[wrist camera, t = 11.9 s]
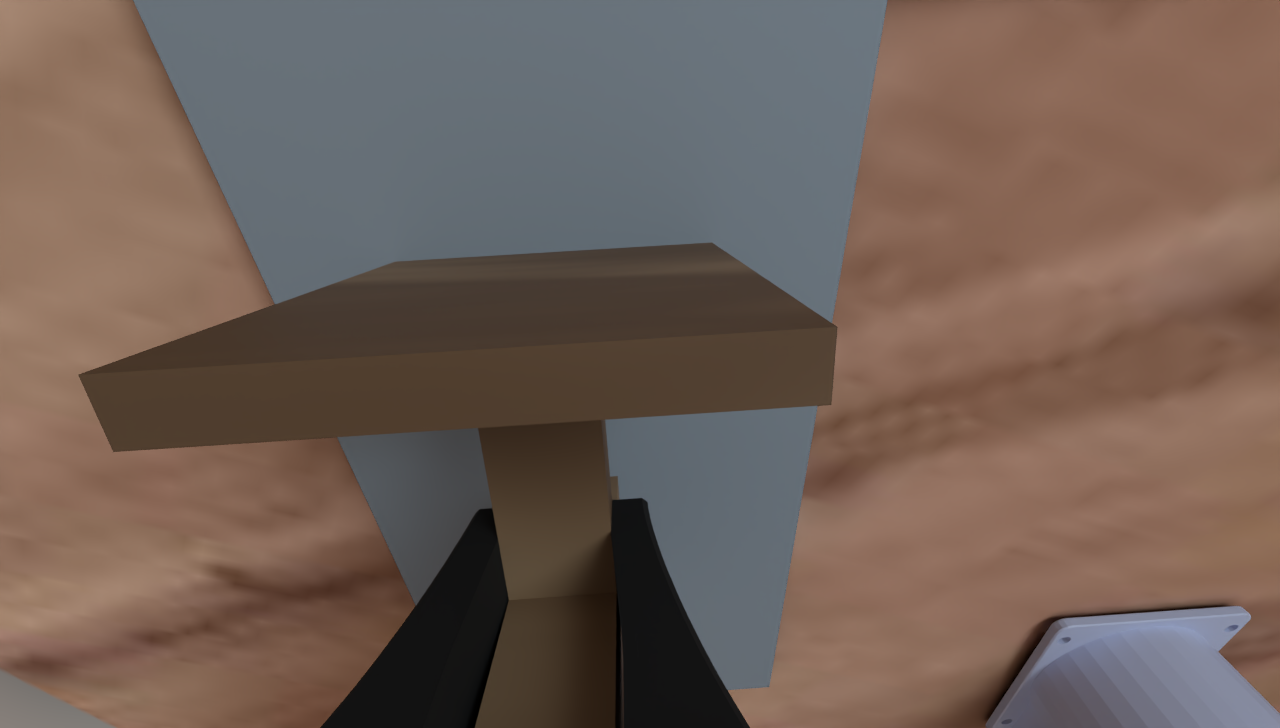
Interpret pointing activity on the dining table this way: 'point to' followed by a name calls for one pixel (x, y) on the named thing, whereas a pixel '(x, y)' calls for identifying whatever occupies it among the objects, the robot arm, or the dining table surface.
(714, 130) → the mat
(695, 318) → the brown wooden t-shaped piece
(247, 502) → the dining table surface
